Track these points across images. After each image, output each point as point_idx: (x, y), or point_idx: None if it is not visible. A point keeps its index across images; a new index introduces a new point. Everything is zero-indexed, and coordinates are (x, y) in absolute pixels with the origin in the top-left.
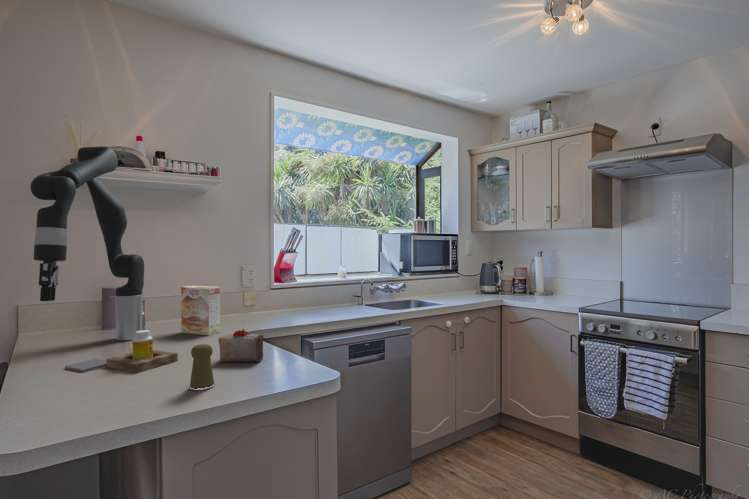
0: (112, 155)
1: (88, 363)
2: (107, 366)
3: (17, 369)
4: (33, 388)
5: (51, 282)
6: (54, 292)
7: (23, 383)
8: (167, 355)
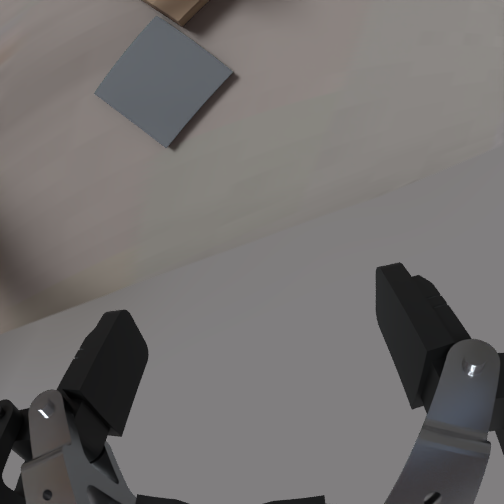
0: None
1: (151, 85)
2: (185, 22)
3: (150, 271)
4: (357, 153)
5: (476, 396)
6: (101, 358)
7: (301, 195)
8: None
